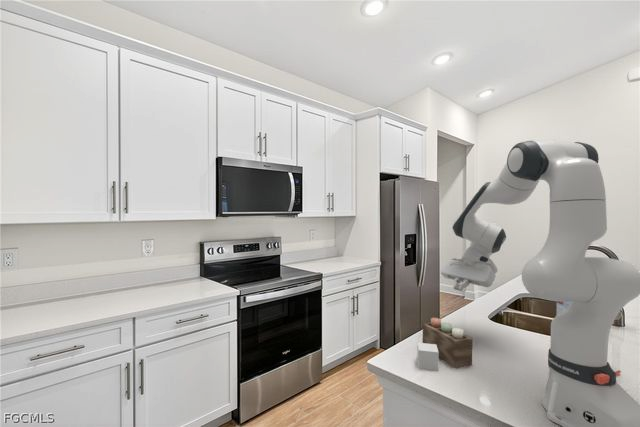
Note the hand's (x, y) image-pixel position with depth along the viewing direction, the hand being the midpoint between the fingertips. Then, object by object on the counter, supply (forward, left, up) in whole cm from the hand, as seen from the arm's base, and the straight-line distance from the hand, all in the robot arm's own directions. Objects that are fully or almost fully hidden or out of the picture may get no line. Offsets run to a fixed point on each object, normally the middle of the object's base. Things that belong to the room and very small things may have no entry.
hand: (457, 289), depth 120 cm
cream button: (-13, +12, -12) cm, 21 cm away
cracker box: (-25, -27, -21) cm, 42 cm away
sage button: (-7, +12, -12) cm, 18 cm away
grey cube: (-10, +22, -21) cm, 32 cm away
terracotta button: (-2, +12, -12) cm, 17 cm away
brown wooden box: (-7, +12, -20) cm, 25 cm away
